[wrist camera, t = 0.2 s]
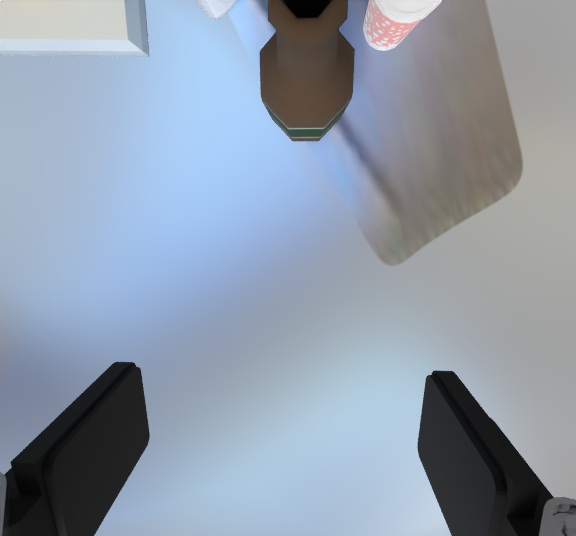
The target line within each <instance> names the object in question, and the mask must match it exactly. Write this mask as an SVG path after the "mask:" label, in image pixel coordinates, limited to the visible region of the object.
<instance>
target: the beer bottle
mask: <svg viewBox="0 0 576 536" xmlns="http://www.w3.org/2000/svg"><path fill="white" fill-rule="evenodd" d="M347 9H348V0H268V21H269V22H270V23H271V24H272V25H273V27H274V28H275V29H276V33H275V34H274V35H273V36H272V37H271V39H270V40H269V41H268V42H267V43H266V45H265V46H264V47H263V48H262V49H261V51H260V81H261V98H262V101H263V103H264V105H265V107H266V109H267V110H268V112H269V114H270V116H271V118H272V120H273V121H274V122H275V123H276V124H277V125H278V126H279V127H280V128H281V129H282V130H283V131H284V132H285V133H286V134H287V136H289V138H290V139H291V140H292V141H319V140H320V139H321V138H322V137H323V136H324V135H325V134H326V133H327V132H328V131H329V130H330V129H331V128H332V127H333V125H334V124H335V123H336V122H337V121H338V120H339V119H340V118H341V116H342V114H343V112H344V111H345V109H346V107H347V106H348V104H349V102H350V100H351V98H352V93H353V73H354V51H355V49H354V48H353V47H352V46H351V45H350V43H349V42H348V41H347V40H346V39H345V37H344V36H343V35H342V34H341V33H340V32H339V27H340V26H341V25H342V24H343V23H344V21H345V20H346V19H347Z"/></svg>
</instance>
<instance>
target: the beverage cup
mask: <svg viewBox="0 0 576 536" xmlns="http://www.w3.org/2000/svg"><path fill="white" fill-rule="evenodd" d="M441 1H442V0H369V3H368V7H367V11H366V15H365V19H364V26H363V30H364V35H365V39H366V40H367V42H368V43H369V45H370V46H372V47H373V48H375V49H377V50H384V51H386V50H389V49H392V48H394V47H396V46H397V45H398V44H399V43H400V42H401V41H402V40H403V39H404V38H405V37H406V36H407V35H408V33H409V32H410V31H411V30H412V29H413V28H414V27H415V26H416V25H417V24H418V22H419V21H420V20H421V19H423V18H425V17H426V16H427V15H428V14H429V13H430V12H431V11H433V10H434V9H435V8H436V7H437V6H438V5H439V4H440V2H441Z"/></svg>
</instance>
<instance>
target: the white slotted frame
mask: <svg viewBox="0 0 576 536" xmlns="http://www.w3.org/2000/svg"><path fill="white" fill-rule="evenodd" d="M0 55H1V56H4V55H5V56H6V55H7V56H13V55H14V56H138V57H139V56H140V57H149V46H148V34H147V21H146V9H145V0H0Z"/></svg>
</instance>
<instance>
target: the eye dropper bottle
mask: <svg viewBox="0 0 576 536" xmlns="http://www.w3.org/2000/svg"><path fill="white" fill-rule="evenodd" d="M196 1H197V2H198V4H199V5H200V7H201V9H203V11H204V12H205V13H207V15H209V16H210V17H211V18H212V19H214V20H216V19H219V18H221V17H223V16H224V15H225V14H227V13H228V12H229V11H230V10H231V9H232V8H233V7H234V5H235V4H236V3H237V1H238V0H196Z"/></svg>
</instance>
